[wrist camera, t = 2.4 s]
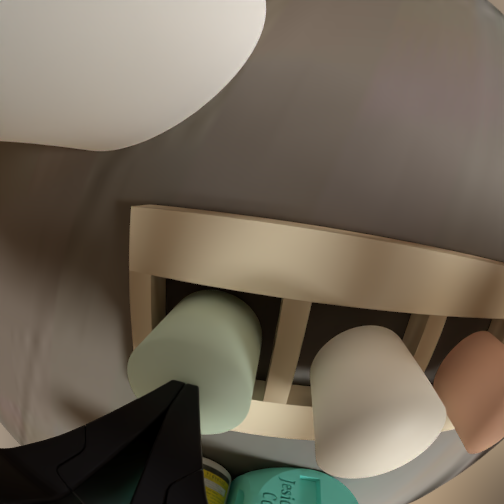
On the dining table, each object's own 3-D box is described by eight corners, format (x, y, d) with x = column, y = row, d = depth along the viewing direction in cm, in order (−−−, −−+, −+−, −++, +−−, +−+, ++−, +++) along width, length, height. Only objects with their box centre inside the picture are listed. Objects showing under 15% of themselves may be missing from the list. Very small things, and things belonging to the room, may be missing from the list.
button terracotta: (505, 330, 8) (551, 369, 4) (473, 396, 9) (504, 441, 5) (454, 330, 9) (505, 382, 5) (420, 403, 9) (448, 462, 6)
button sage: (269, 298, 11) (259, 354, 7) (255, 378, 11) (242, 444, 8) (172, 281, 11) (121, 323, 7) (171, 360, 12) (134, 414, 8)
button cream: (419, 328, 9) (468, 389, 5) (385, 405, 10) (408, 471, 6) (323, 320, 9) (342, 395, 5) (299, 402, 10) (300, 479, 6)
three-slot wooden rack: (517, 266, 9) (534, 273, 8) (454, 413, 11) (463, 426, 10) (149, 204, 11) (131, 206, 9) (152, 389, 13) (141, 405, 12)
